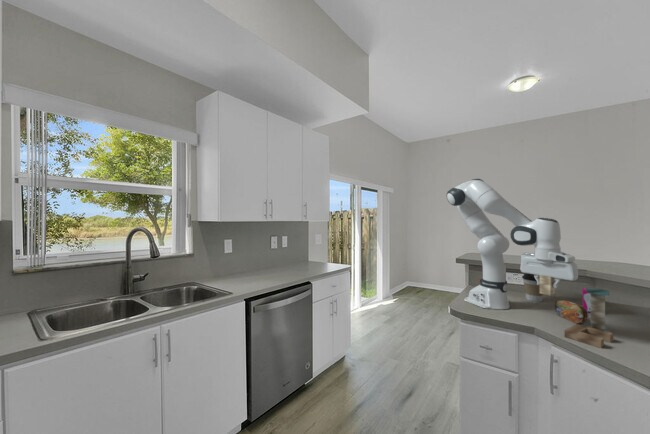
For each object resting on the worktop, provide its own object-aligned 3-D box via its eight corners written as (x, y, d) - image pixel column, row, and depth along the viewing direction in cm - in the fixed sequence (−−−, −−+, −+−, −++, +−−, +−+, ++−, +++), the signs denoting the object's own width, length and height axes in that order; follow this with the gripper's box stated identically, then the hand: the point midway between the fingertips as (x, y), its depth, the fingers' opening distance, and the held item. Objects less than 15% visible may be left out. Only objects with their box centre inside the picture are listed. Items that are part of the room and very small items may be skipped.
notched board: (564, 336, 113) (564, 329, 113) (577, 330, 119) (577, 323, 119) (600, 348, 104) (600, 340, 104) (613, 340, 109) (613, 333, 109)
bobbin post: (583, 331, 118) (583, 289, 118) (590, 327, 122) (590, 287, 122) (605, 337, 112) (605, 293, 112) (612, 333, 116) (612, 290, 115)
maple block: (539, 293, 122) (539, 275, 122) (544, 291, 124) (544, 274, 123) (550, 295, 118) (550, 276, 118) (554, 294, 120) (554, 275, 120)
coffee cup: (523, 296, 169) (523, 271, 169) (547, 299, 162) (547, 274, 161) (520, 300, 161) (520, 274, 161) (545, 304, 153) (544, 277, 153)
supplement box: (598, 311, 142) (597, 289, 142) (598, 314, 138) (598, 291, 138) (582, 308, 146) (582, 287, 146) (582, 311, 142) (582, 289, 141)
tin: (554, 314, 139) (554, 297, 139) (560, 314, 139) (560, 297, 139) (582, 326, 124) (582, 307, 124) (589, 326, 124) (589, 307, 124)
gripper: (517, 252, 128) (517, 282, 128) (573, 258, 110) (573, 293, 110) (524, 251, 131) (524, 280, 131) (580, 257, 113) (579, 291, 114)
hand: (547, 286), depth 121 cm, fingers closed on maple block, 4 cm apart
